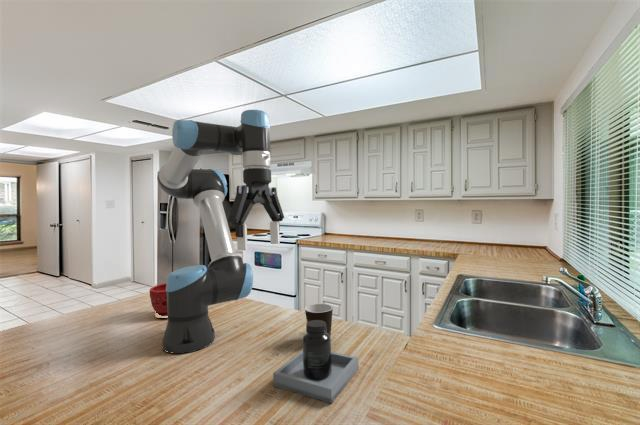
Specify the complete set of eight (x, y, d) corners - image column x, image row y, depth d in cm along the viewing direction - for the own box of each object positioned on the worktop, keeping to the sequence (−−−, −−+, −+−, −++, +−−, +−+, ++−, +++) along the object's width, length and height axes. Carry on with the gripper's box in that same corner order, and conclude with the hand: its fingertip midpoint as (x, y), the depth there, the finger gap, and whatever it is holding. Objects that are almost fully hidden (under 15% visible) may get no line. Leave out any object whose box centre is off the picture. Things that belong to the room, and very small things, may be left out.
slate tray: (273, 385, 71) (273, 373, 71) (307, 357, 84) (306, 346, 84) (331, 403, 64) (331, 389, 64) (358, 369, 77) (358, 357, 77)
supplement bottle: (309, 363, 78) (308, 317, 78) (335, 367, 76) (333, 319, 76) (299, 378, 72) (297, 327, 72) (326, 382, 69) (325, 330, 69)
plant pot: (156, 312, 127) (154, 283, 127) (189, 308, 130) (188, 280, 130) (146, 323, 114) (144, 291, 114) (184, 319, 118) (182, 288, 117)
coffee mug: (331, 347, 90) (330, 313, 89) (302, 345, 91) (301, 312, 91) (337, 331, 101) (336, 301, 101) (311, 330, 103) (310, 300, 103)
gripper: (234, 162, 71) (237, 253, 71) (293, 171, 93) (296, 241, 93) (211, 165, 74) (214, 252, 75) (273, 173, 96) (276, 241, 96)
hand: (259, 246), depth 84 cm, fingers open, 13 cm apart
